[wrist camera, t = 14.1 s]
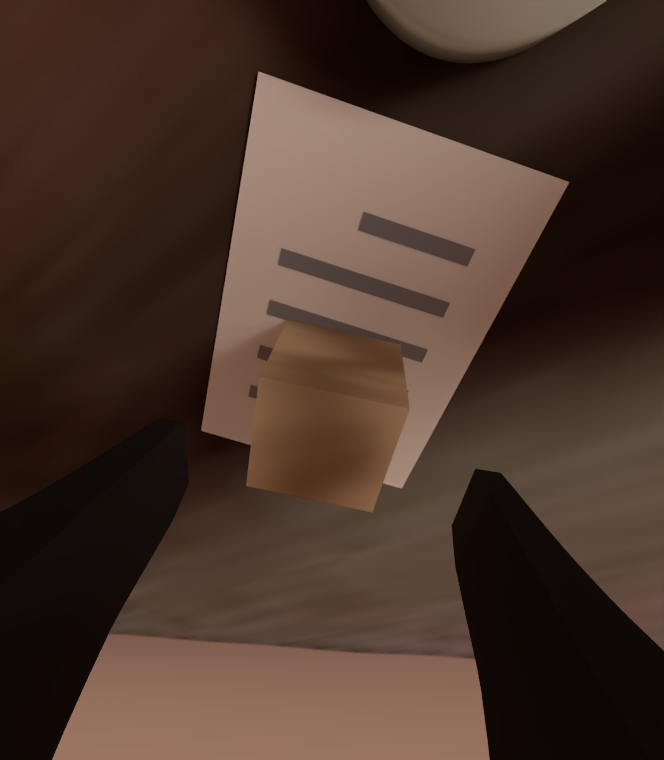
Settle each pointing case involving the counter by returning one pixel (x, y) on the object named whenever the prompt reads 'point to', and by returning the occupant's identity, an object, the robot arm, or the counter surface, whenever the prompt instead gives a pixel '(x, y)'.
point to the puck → (477, 25)
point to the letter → (368, 250)
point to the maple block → (328, 416)
